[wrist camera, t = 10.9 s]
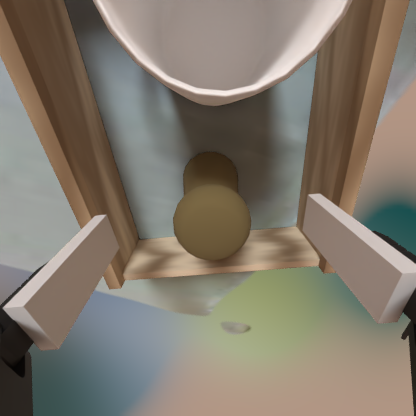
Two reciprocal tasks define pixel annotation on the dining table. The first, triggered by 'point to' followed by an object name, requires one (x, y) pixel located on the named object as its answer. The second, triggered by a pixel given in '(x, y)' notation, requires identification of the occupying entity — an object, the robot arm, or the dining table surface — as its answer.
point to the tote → (105, 165)
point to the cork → (211, 209)
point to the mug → (221, 41)
